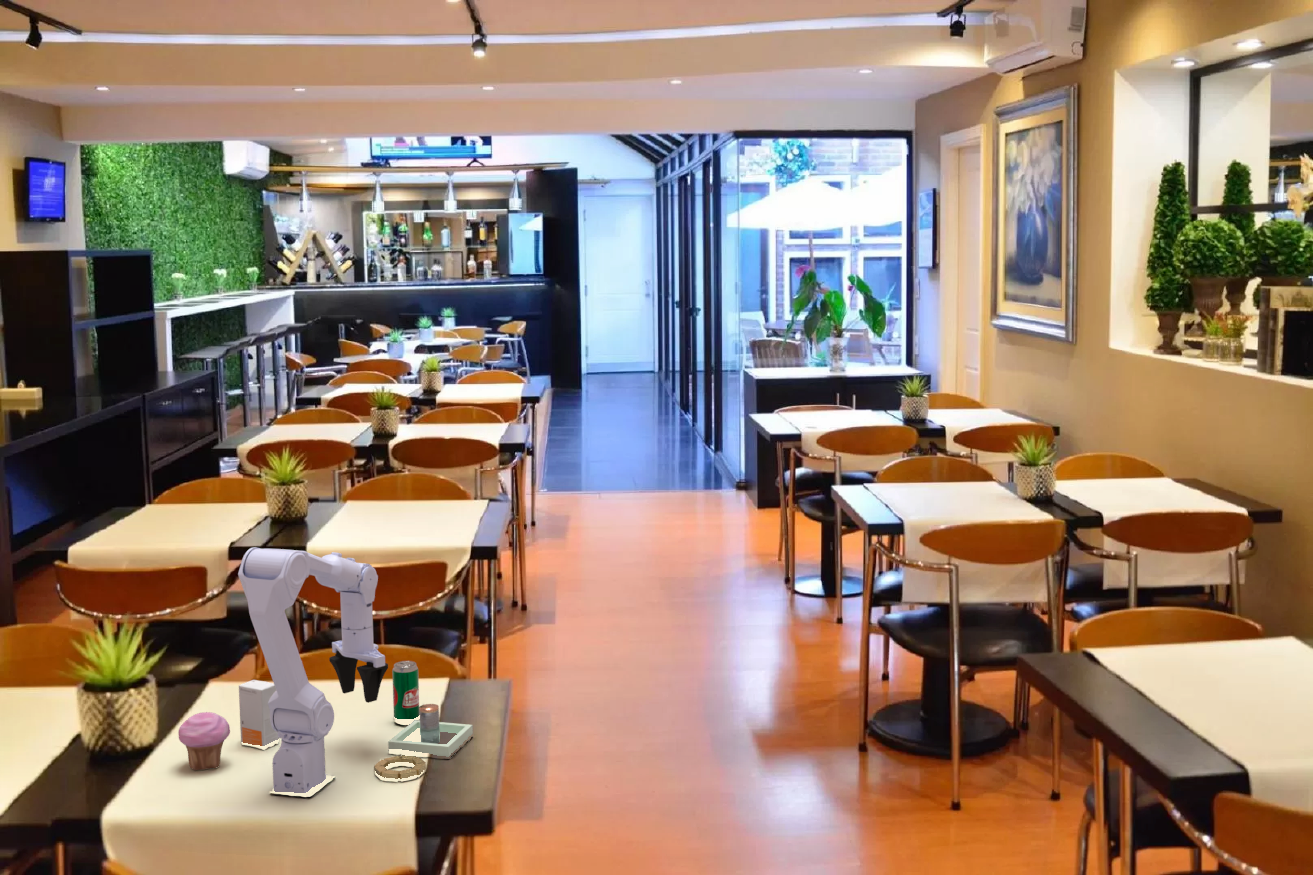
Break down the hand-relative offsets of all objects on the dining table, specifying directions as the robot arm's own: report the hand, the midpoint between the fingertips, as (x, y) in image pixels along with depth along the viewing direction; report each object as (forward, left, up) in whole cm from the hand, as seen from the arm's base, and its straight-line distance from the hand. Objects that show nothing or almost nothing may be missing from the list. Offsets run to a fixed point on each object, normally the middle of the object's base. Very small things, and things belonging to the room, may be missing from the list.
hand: (359, 696), depth 250 cm
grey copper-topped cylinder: (+5, -12, -10) cm, 16 cm away
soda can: (+16, -2, -11) cm, 19 cm away
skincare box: (-2, +20, -11) cm, 23 cm away
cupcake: (-14, +24, -11) cm, 30 cm away
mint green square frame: (+5, -12, -10) cm, 17 cm away
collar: (-9, -12, -10) cm, 18 cm away
